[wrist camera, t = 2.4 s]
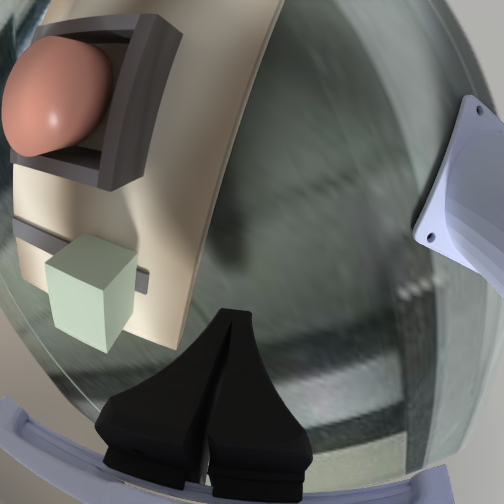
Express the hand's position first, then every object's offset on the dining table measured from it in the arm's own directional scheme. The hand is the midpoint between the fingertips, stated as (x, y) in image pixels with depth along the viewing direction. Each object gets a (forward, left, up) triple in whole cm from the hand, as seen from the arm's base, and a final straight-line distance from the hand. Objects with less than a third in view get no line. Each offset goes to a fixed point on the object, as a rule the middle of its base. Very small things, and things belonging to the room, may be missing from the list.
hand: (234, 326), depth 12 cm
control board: (+8, -7, -2) cm, 11 cm away
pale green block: (+7, 0, 0) cm, 6 cm away
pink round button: (+8, -8, +1) cm, 12 cm away
